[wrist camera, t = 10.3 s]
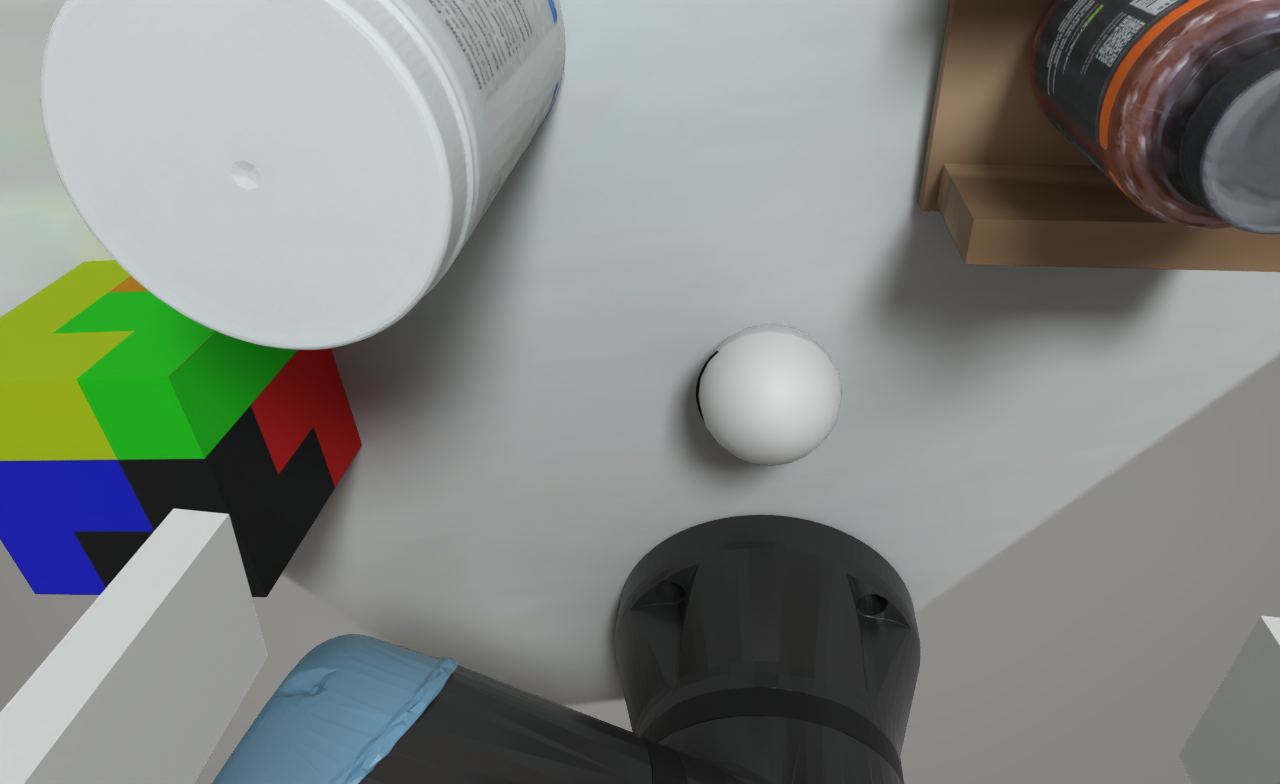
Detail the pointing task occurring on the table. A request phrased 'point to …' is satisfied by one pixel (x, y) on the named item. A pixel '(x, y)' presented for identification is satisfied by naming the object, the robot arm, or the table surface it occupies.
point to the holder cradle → (1041, 168)
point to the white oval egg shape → (769, 394)
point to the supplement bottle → (1171, 102)
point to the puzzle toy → (155, 432)
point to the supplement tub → (293, 147)
